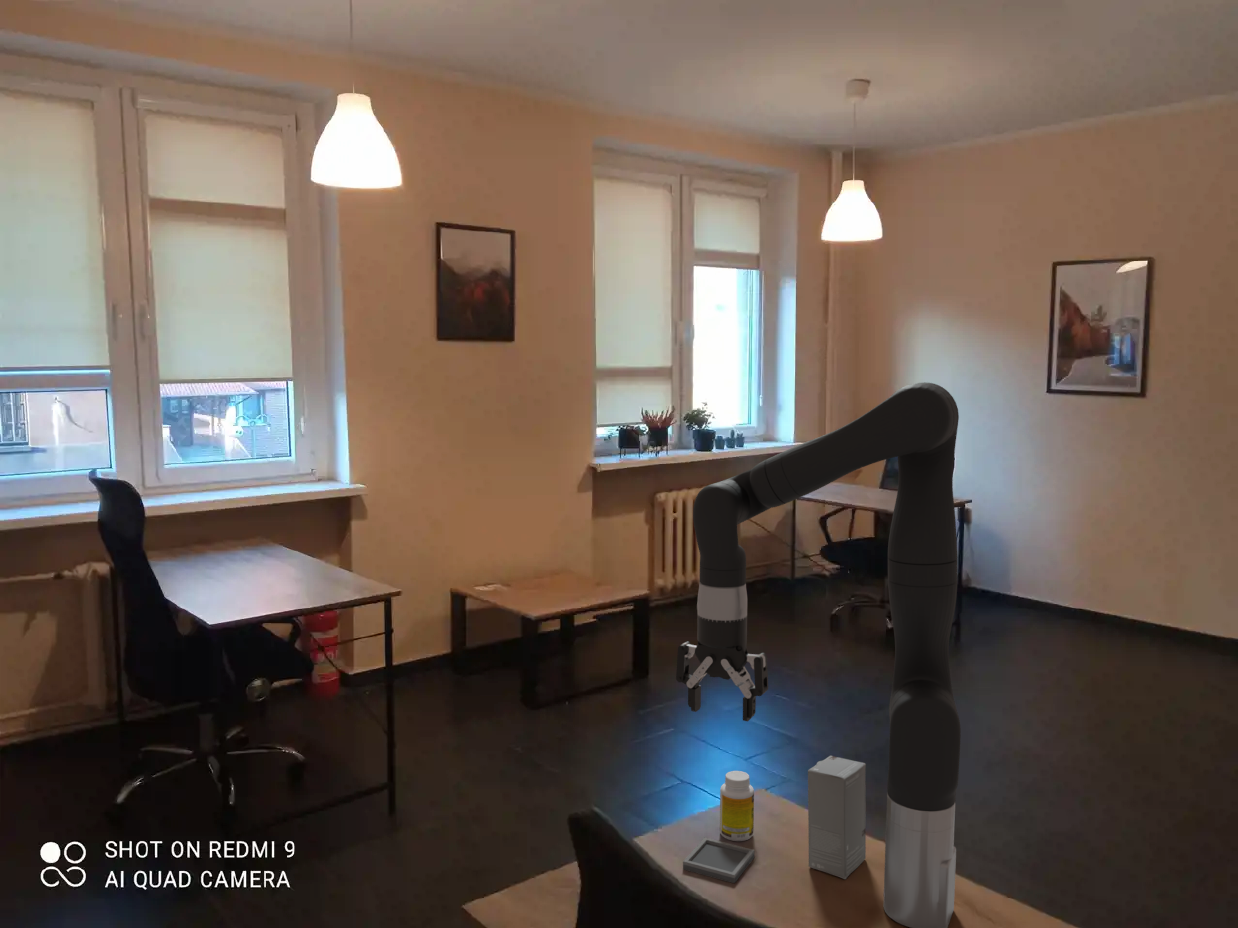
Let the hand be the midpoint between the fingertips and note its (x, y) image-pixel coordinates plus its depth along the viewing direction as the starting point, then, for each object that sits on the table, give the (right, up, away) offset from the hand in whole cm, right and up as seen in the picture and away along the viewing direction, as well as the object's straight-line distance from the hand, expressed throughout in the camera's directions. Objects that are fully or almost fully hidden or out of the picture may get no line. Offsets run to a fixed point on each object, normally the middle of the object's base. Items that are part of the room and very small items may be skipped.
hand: (721, 714), depth 149 cm
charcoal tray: (0, -24, +3) cm, 24 cm away
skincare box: (+18, -24, +3) cm, 30 cm away
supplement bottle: (+4, -23, +12) cm, 26 cm away
